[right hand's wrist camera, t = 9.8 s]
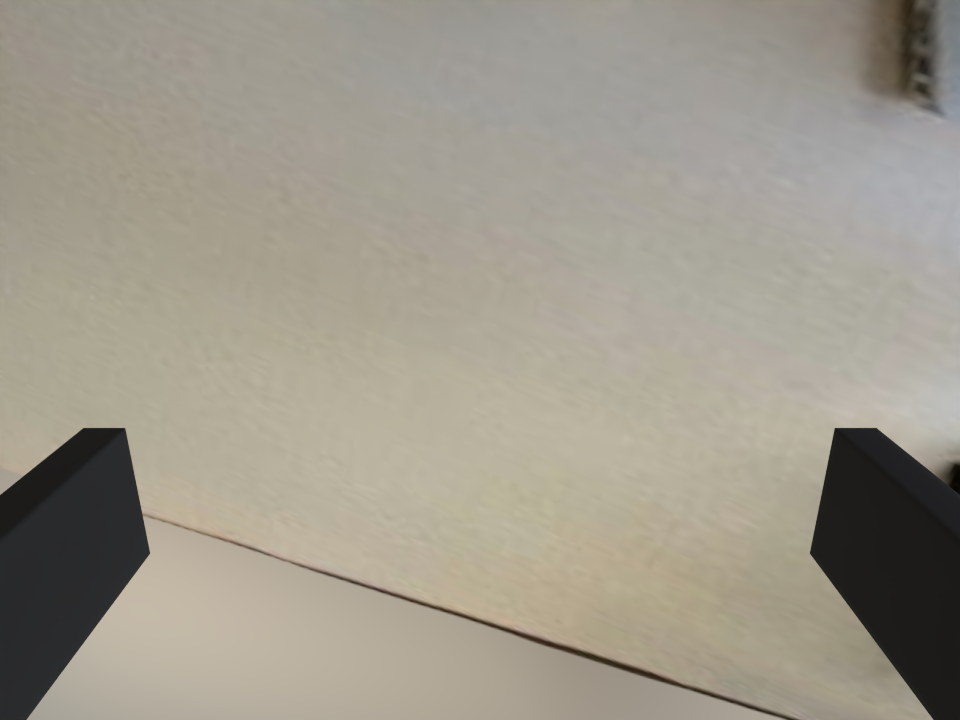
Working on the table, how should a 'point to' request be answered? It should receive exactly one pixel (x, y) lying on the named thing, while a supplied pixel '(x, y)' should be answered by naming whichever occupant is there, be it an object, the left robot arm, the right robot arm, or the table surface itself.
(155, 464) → the table surface
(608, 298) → the table surface
